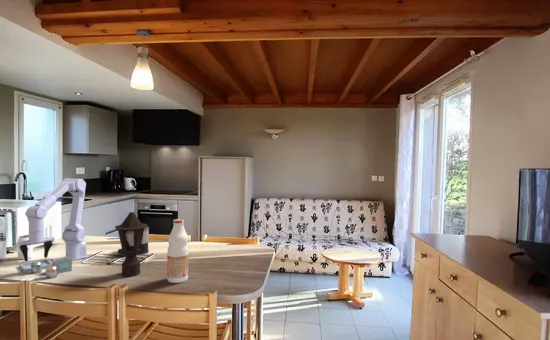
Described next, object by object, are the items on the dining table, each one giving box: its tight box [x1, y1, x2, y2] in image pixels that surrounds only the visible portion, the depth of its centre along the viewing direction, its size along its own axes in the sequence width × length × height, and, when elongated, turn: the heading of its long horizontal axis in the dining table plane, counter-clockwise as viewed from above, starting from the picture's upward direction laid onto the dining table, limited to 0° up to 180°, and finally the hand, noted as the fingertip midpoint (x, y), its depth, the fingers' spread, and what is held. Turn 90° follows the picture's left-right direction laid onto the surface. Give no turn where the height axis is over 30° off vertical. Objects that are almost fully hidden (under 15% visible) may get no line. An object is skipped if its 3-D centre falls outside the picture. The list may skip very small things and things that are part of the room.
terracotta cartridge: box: [45, 265, 58, 280], centre depth 146 cm, size 4×4×5 cm
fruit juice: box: [166, 218, 189, 284], centre depth 146 cm, size 9×9×28 cm
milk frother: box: [116, 226, 150, 258], centre depth 183 cm, size 14×16×15 cm
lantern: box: [114, 211, 149, 278], centre depth 152 cm, size 15×15×30 cm
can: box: [17, 234, 34, 261], centre depth 171 cm, size 6×6×12 cm
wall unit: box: [51, 256, 73, 275], centre depth 153 cm, size 7×5×6 cm
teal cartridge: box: [30, 260, 42, 275], centre depth 151 cm, size 4×4×5 cm
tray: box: [18, 258, 52, 274], centre depth 158 cm, size 12×12×2 cm
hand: (36, 259), depth 151 cm, fingers open, 7 cm apart
